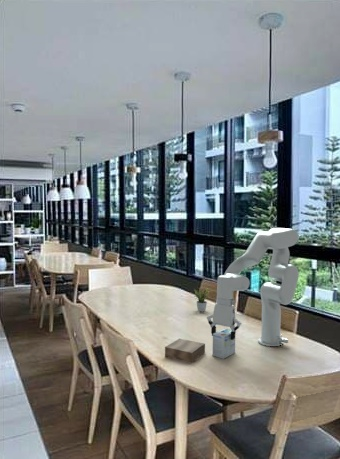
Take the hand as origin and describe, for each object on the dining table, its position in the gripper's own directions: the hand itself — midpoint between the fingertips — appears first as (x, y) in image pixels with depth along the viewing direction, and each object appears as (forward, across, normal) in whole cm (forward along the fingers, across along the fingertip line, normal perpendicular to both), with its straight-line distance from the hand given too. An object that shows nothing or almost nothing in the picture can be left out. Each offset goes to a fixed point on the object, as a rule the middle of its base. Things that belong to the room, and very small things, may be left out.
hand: (223, 337), depth 183 cm
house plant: (+7, +44, -67) cm, 80 cm away
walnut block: (+9, +15, +10) cm, 20 cm away
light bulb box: (+9, 0, -1) cm, 9 cm away
